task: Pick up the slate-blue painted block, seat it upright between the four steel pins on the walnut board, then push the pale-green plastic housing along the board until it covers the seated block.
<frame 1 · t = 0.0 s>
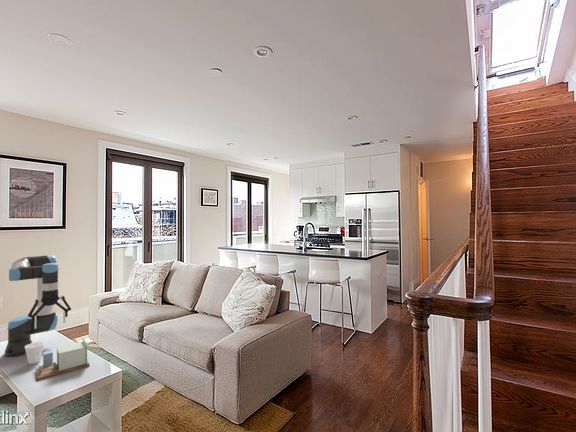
hand: (50, 325, 183), 28 cm above the table, fingers open, 13 cm apart
jaw block: (47, 365, 192), on the table
board: (63, 368, 187), on the table
housing: (72, 353, 190), point 8 cm above the table, slide at 0.0 cm
cup: (34, 362, 196), on the table
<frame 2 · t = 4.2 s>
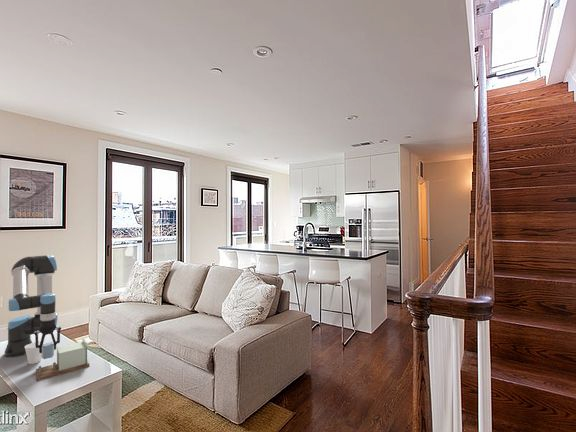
hand: (47, 356, 192), 5 cm above the table, fingers closed on jaw block, 4 cm apart
jaw block: (47, 356, 192), point 5 cm above the table, touching gripper
everything else where it was.
when the fingers open (3 cm above the table, at t = 7.8 s): jaw block stays where it is, resting on board.
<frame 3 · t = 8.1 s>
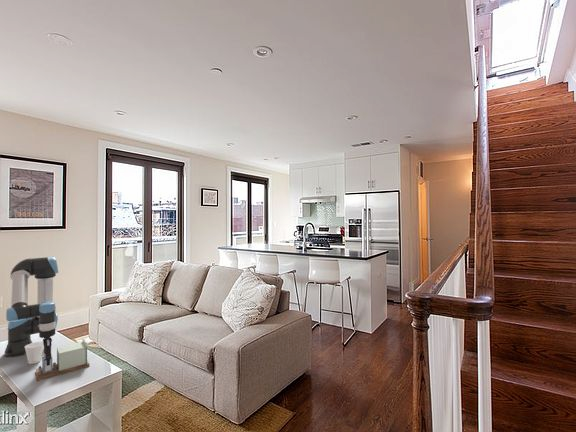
hand: (47, 367, 182), 3 cm above the table, fingers open, 8 cm apart
jaw block: (47, 370, 182), point 1 cm above the table, touching board
everything else where it was.
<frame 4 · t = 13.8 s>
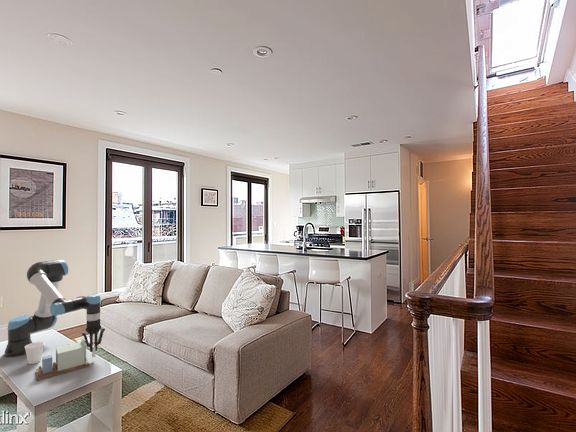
hand: (93, 356, 198), 3 cm above the table, fingers closed
housing: (70, 353, 190), point 8 cm above the table, slide at 0.6 cm, touching hand
everything else where it was.
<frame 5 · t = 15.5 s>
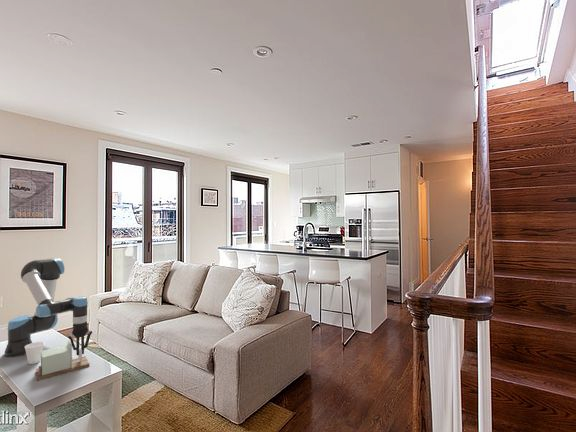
hand: (80, 359, 193), 3 cm above the table, fingers closed
housing: (56, 357, 185), point 8 cm above the table, slide at 7.8 cm, touching hand
everything else where it was.
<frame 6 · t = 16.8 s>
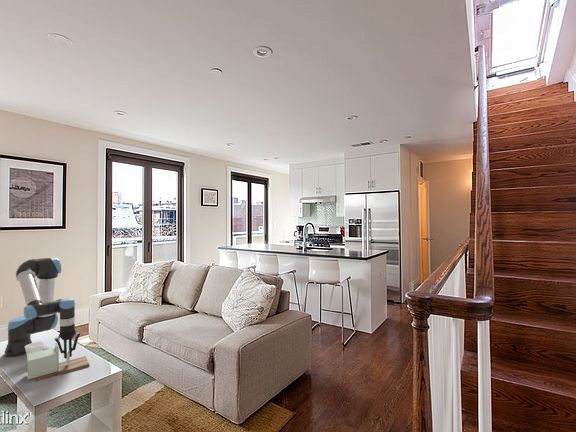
hand: (68, 362, 189), 3 cm above the table, fingers closed
housing: (42, 360, 181), point 8 cm above the table, slide at 14.1 cm, touching hand
everything else where it was.
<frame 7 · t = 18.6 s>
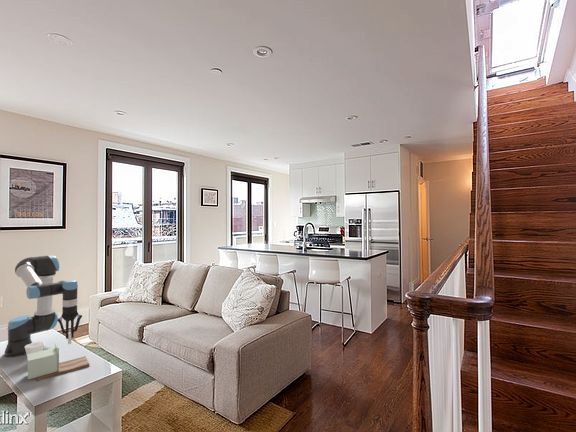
hand: (69, 343, 191), 14 cm above the table, fingers closed
housing: (43, 360, 181), point 8 cm above the table, slide at 14.0 cm
everything else where it was.
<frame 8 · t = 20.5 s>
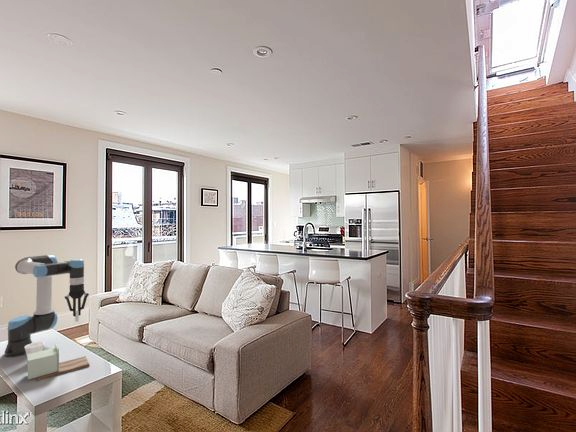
hand: (76, 321, 195), 26 cm above the table, fingers closed
nothing on the table moved.
at the end: jaw block 0.0 cm from the target spot on the board, point 1.5 cm above the board's base; jaw block tilted 0°; housing slide at 14.0 cm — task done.
